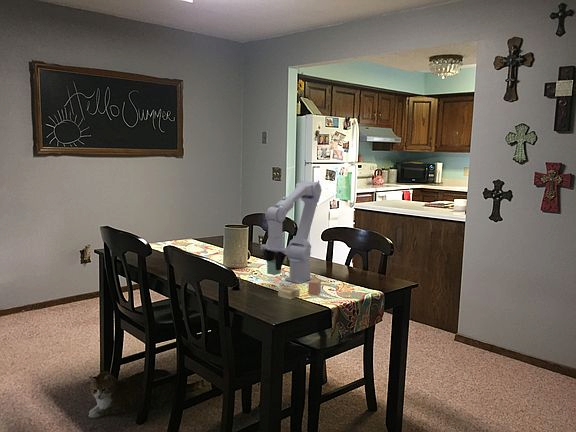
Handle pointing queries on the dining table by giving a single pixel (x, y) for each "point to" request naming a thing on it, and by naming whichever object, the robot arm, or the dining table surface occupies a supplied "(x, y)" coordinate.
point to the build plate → (237, 286)
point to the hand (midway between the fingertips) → (274, 268)
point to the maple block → (288, 292)
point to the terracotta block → (314, 287)
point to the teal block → (272, 268)
